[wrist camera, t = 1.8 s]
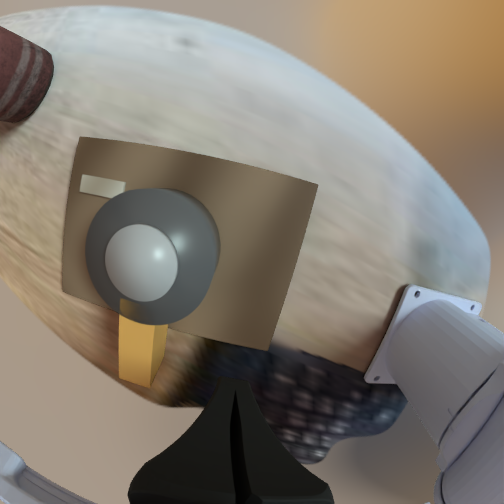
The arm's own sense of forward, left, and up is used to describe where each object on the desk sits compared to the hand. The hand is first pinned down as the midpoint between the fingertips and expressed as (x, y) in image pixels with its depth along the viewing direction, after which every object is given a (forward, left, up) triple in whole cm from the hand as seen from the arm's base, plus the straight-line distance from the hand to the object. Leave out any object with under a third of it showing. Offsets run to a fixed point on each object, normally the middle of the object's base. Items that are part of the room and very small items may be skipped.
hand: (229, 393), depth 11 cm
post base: (+5, -5, -5) cm, 9 cm away
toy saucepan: (+5, -3, -4) cm, 7 cm away
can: (+20, -14, -6) cm, 25 cm away
